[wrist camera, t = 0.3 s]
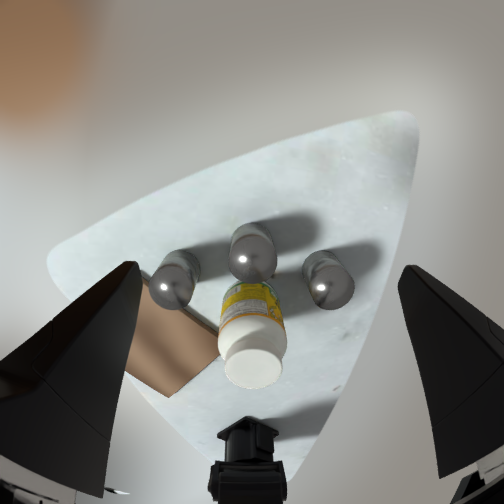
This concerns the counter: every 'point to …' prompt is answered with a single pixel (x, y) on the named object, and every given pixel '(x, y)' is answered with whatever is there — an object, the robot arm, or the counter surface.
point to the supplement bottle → (252, 335)
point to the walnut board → (169, 346)
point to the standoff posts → (251, 271)
